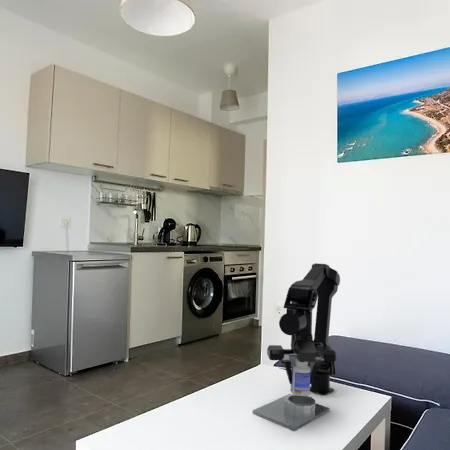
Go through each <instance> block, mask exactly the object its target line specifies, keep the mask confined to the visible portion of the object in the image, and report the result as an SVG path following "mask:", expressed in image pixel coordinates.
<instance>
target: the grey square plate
mask: <svg viewBox="0 0 450 450" xmlns="http://www.w3.org/2000/svg"><path fill="white" fill-rule="evenodd" d="M330 411H331V408H330V407H327V406H325V405H322V404H320V403H316V400H315V399H314V398H313V397H312V396H310V395H307V396H297V395H294V394H293V393H291V394H287V395H284V396H282V397H280V398H278V399H275V400H273V401H270V402H269V403H265V404H263V405H261V406H259V407H258V408H256V409H255V408H254V409H253V410H252V414H253V415H256V416H257V417H260V418H262V419H265V420H267V421H269V422H272V423H275V424H276V425H279V426H281V427H283V428H286V429H288V430H291V431H293V432H295V431H297V430H299V429H301V428H302V427H305V426H307V425H308V424H309V423H311V422H313V421H315V420H316V419H318V418H320V417H322V416H323V415H326V414H327V413H329V412H330Z"/></svg>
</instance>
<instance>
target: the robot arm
mask: <svg viewBox="0 0 450 450" xmlns="http://www.w3.org/2000/svg"><path fill="white" fill-rule="evenodd" d="M340 283H341V276H340V274H339V272H338V270H336V269H333V268H332V267H330V266H329V264H326V263H315V262H314V263H312V265H311V268H310V269H309V271H308V272H307V274H306V275H304V277H303V278H302V279H300V280H297V281H294V282H293V283H292V284H291V285H290V286H289V287H288V289H287V294H286V297H285V300H284V304H283V309H286V310H285V311H286V312H285V313H284V314H282V315H281V316H280V319H279V321H278V325H279V329H280V331H281V332H282V333H283V334H285V335H287V336H291V337H290V338H291V339H290V348H283V346H282V345H278V344H277V345H274V344H272V345H271V344H270V345H268V346H267V348H266V354H267V357H268V359H269V360H270V361H279V363H281V364H283V367H284V370H285V372H286V376H287V379H288V382H289V384H290V385H291V384H292V374H291V368H292V360H291V359H290V357H297V358H298V361H300V362H308V365H307V366H309V367H310V369H311V374H310V392H312V393H316V394H319V395H322V396H326V395H328V394H330V393H332V392H334V390H335V389H334V388H332V387H330V386H331V385H330V383H331V380H330V379H331V376H334V375H336V374H337V366H336V361H337V352H336V351H335V350H334V349H333V348H332V347H331V345H330V342H329V337H330V323H331V314H332V313H331V312H332V302H333V301H332V300H333V297H334V296H335V295H336V293H337V292H338V289H339V288H338V287H339V286H340ZM315 307H316V314H315V315H316V316H315V326H314V334H313V332H312V331H313V311H314V309H315ZM313 335H314V336H313Z"/></svg>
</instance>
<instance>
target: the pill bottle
mask: <svg viewBox="0 0 450 450" xmlns="http://www.w3.org/2000/svg"><path fill="white" fill-rule="evenodd" d="M293 363H294V364H293V365H292V364H291V374H292V384H290V393H291V394H294V395H297V396H310V393H311V391H310V387H311V384H310V374H311V369H310V367H309V366H307V365H308V362H300V361H298V358H297V356H294V358H293Z"/></svg>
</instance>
